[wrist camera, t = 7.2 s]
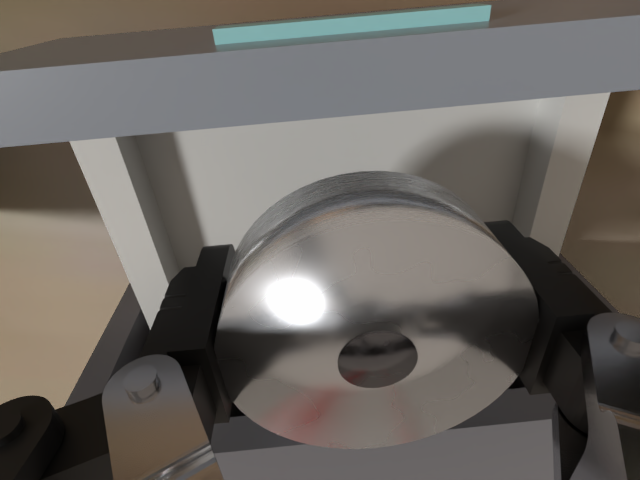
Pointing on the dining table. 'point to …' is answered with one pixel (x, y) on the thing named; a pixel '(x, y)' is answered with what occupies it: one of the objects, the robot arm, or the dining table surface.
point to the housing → (357, 464)
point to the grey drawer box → (324, 115)
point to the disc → (371, 313)
